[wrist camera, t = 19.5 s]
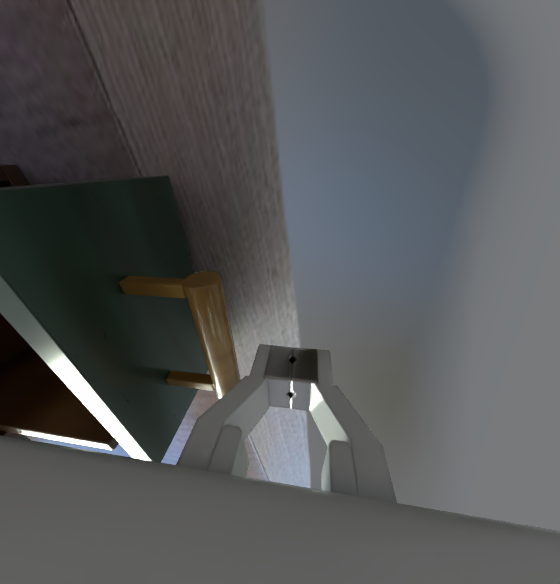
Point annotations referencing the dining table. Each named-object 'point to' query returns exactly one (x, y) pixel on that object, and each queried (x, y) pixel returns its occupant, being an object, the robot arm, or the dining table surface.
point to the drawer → (105, 315)
